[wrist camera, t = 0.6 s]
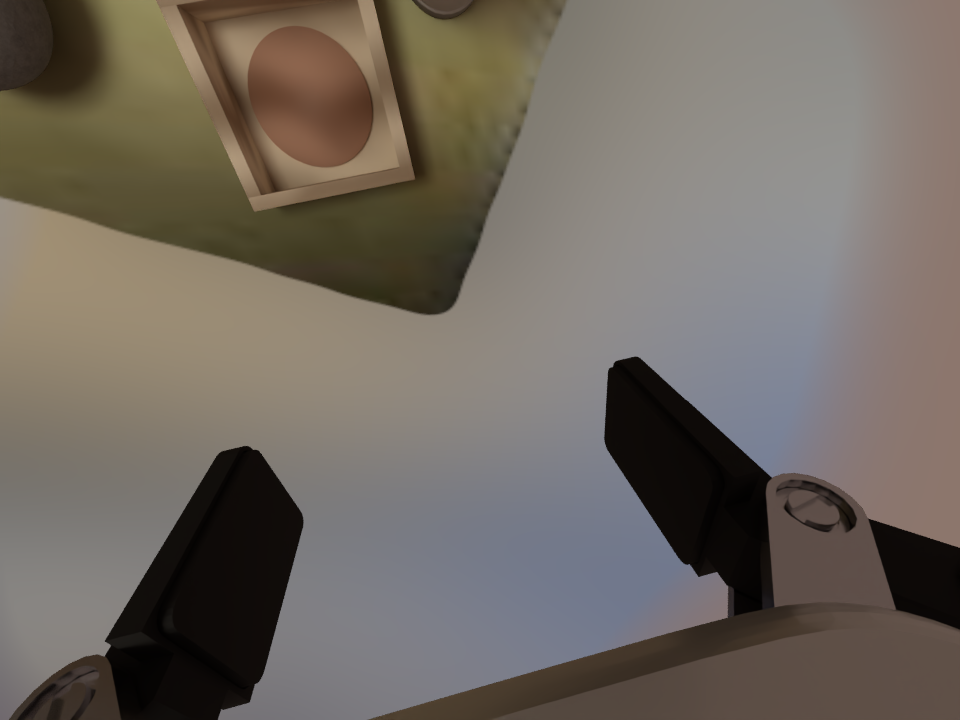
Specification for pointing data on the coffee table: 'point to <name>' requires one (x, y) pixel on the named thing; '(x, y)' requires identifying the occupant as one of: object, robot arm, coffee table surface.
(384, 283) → the coffee table surface
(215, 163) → the coffee table surface
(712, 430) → the robot arm
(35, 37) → the decorative ball
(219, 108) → the open box
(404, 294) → the coffee table surface
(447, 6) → the travel mug
